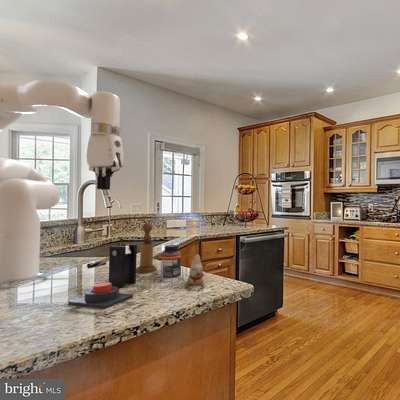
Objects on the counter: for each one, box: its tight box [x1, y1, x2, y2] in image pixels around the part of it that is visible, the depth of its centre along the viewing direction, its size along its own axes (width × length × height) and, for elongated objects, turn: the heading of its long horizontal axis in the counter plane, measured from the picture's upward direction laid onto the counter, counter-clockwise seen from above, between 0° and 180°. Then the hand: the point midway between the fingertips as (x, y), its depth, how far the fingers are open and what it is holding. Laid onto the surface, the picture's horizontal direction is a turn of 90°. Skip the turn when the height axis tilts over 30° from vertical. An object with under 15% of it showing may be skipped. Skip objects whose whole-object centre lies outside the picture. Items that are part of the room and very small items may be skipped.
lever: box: [86, 245, 131, 269], centre depth 81 cm, size 12×5×2 cm, turn 78°
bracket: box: [108, 243, 138, 289], centre depth 80 cm, size 10×8×13 cm
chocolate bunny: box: [186, 254, 205, 290], centre depth 84 cm, size 6×8×10 cm
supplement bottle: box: [160, 244, 182, 279], centre depth 91 cm, size 6×6×11 cm
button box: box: [67, 286, 134, 310], centre depth 67 cm, size 10×8×4 cm
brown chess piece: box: [136, 222, 158, 274], centre depth 97 cm, size 7×6×18 cm
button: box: [92, 281, 112, 293], centre depth 67 cm, size 4×4×2 cm
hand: (103, 189), depth 89 cm, fingers closed
